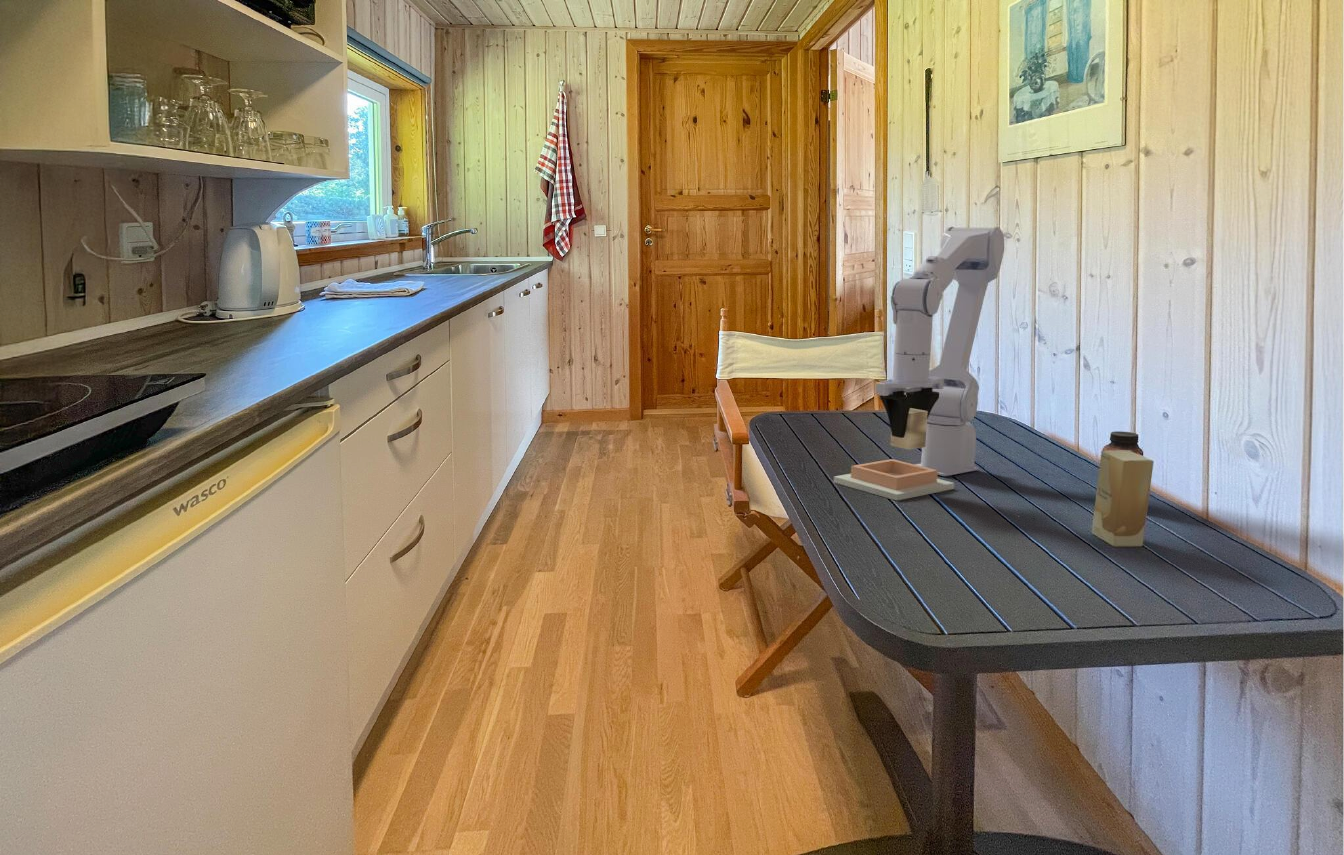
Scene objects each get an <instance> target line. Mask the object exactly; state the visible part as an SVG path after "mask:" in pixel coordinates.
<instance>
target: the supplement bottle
mask: <svg viewBox="0 0 1344 855" xmlns="http://www.w3.org/2000/svg"><path fill="white" fill-rule="evenodd" d="M1109 437H1110V438H1109V442H1110V443H1109V444H1108V443H1107V444H1106V445H1104V447H1103V448H1102V450H1101V451H1107V450H1129V451H1132V452H1134V453H1136V454H1140V455H1142V456H1144V451H1143V449H1142V448H1141V447H1140V446H1139V434H1137V433H1135V432H1131V431H1122V430H1121V431H1112V432H1110V436H1109Z"/></svg>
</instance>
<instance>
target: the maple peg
mask: <svg viewBox="0 0 1344 855" xmlns="http://www.w3.org/2000/svg"><path fill="white" fill-rule="evenodd" d="M927 413H928V411H924V410H919V409H913V408H910V410H909V413H908V418H907V426H906V432H905V436H904V438H899V437H895V436H892V433H891V432H890V444H889V445H890V446H892V447H895V448H901V449H905V450H908V451H909V450H917V449H920V448H921V449H922V447H925V443H926V428H927Z"/></svg>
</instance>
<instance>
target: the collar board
mask: <svg viewBox="0 0 1344 855" xmlns="http://www.w3.org/2000/svg"><path fill="white" fill-rule="evenodd" d="M850 467H851V469H850V470H851V471H850V473H845V474H842V475H840V474H839V475H835V476H833V483H834V484H837V485H842V486H846V487H849V488H852V489H856V490H859V491H862V492H866V493H869V494H873V495H876V496H880V497H882V498H886V499H890V500H894V501H902V500H907V499H912V498H916V497H921V496H925V495H931V494H934V493H941V492H944V491H950V490H954V489H955V482H952V481H948V480H944V479H941V478H938V475H937V472H938V470H934V469H930V468H926V467H922V466H918V465H915V463H914V464H913V463H909V462H905V461H901V460H897V459H894V458H891V459H885V460H884V459H883V460H879V461H873V462H866V463H861V464H855V465H851V466H850Z"/></svg>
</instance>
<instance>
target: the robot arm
mask: <svg viewBox="0 0 1344 855" xmlns="http://www.w3.org/2000/svg"><path fill="white" fill-rule="evenodd" d="M1004 254H1005V235H1004V232H1003V231H1002V229H1001V228H1000V226H994V227H954V226H948V227H947V228H946V229H945V230H944V232H943V234H942V236H941V240H940V250H939V251H938V253H937V254H936V256H935V255H934V256H933V255H928V256H927V257H926V259H925V260H924V261H923V262H921V264H920V265H919V266H918V267H917V268H916V270H915V271H914V272H912V274H911V275H910V276H909V277H908V278H901V279H900V280H898V281H897V282H895V284H894V286H893V288H892V291H891V295H890V306H891V309H892V321H893V324H894V325H895V336H894V351H893V352H894V354H893V369H892V370H893V371H892V378H890V379H887V380H883V381H879V382H875V390H874V391H875V392H874V393H875V395H878V396H879V399H880V401H881V402H882V404H883V406H884V409H885V412H886V414H887V418H888V423H889V426H890V434H891V433H892V436H895V437H899V438H904V436H905V432H906V426H907V418H908V413H909V410H910V408H913V409H919V410H924V411H928V413H927V428H926V443H925V447H922V448H921V460H920V463H914V465H918V466H922V467H926V468H930V469H934V470H938V472H937V476H942V477H950V476H953V475H958V474H959V475H960V474H964V473H969V472H974V471H978V470H979V467H978V466H977V467H976V466H975V461H976V458H975V457H976V444H977V433H976V429H975V427H974V425H973V424H972V423H971V421H972V420H973V419H974V417H975V416H976V413H977V410H978V404H979V401H978V400H979V391H980V385H979V382H978V381H977V379H976V378H975V377H974V376H973V375H972V374H971V373H970V372H969V371H968V367H969V363H970V358H971V354H972V350H973V347H974V346H973V345H974V342H975V337H976V333H977V328H978V326H979V321H980V318H981V317H980V316H981V313H982V308H983V304H984V300H985V295H986V291H987V289H988V285H989V283H990V282H992V281H994V280H996V279H997V278H998V276H999V273H1000V270H1001V266H1002V262H1003V259H1004ZM953 280H954V281H955V282H957V283H958V284H957V285H958V286H957V289H956V293H955V298H954V302H953V306H952V311H951V314H950V319H949V322H948V326H947V331H946V336H945V340H944V343H943V347H942V352H941V356H940V359H939V364H937V365H936V366H934V367H932V368H930V366H931V351H932V350H931V349H932V338H933V337H932V334H933V321H934V320H933V318H934V315H935V314H937V312H938V311H939V309H940V308H939V307H940V304H941V301H942V299H943V295H944V294H943V293H944V292H945V291H946V289H947V288H948V287H949V286H950V285H951V283H953Z"/></svg>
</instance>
